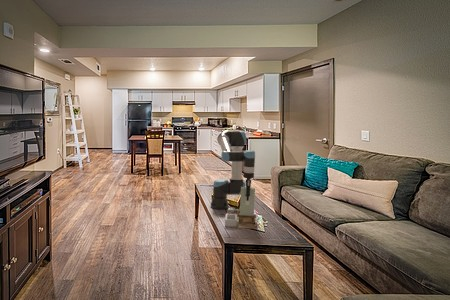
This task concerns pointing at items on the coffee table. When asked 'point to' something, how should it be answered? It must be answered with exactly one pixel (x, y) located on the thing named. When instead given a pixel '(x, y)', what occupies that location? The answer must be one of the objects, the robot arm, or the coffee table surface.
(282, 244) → the coffee table surface
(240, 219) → the rack
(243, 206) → the grey-green flat block
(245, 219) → the offcut oak
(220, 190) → the robot arm
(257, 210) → the coffee table surface
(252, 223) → the offcut walnut
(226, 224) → the bin
